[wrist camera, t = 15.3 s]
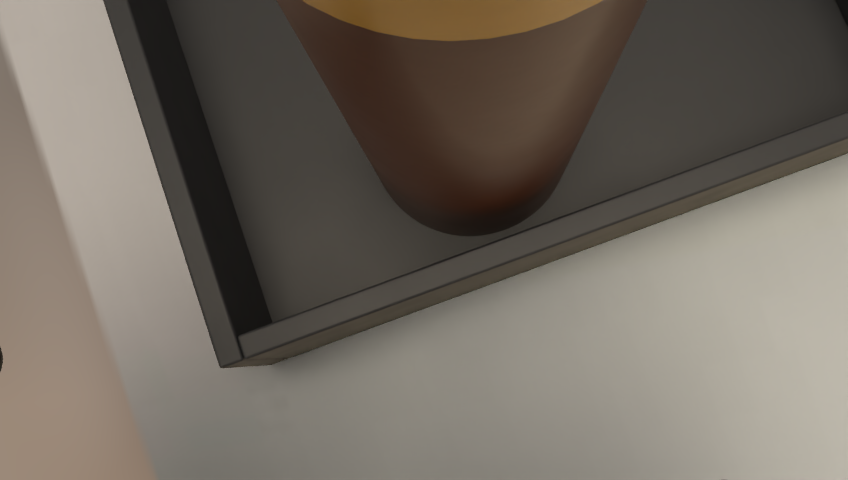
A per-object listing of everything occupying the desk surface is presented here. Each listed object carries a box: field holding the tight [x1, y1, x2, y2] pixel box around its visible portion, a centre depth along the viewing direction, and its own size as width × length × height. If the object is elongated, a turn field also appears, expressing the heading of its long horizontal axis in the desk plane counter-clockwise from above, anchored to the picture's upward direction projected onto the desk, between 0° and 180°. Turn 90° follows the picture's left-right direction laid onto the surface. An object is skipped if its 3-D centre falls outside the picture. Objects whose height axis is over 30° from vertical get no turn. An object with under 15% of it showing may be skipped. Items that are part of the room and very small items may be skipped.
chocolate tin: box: [276, 0, 647, 236], centre depth 15 cm, size 6×6×16 cm
